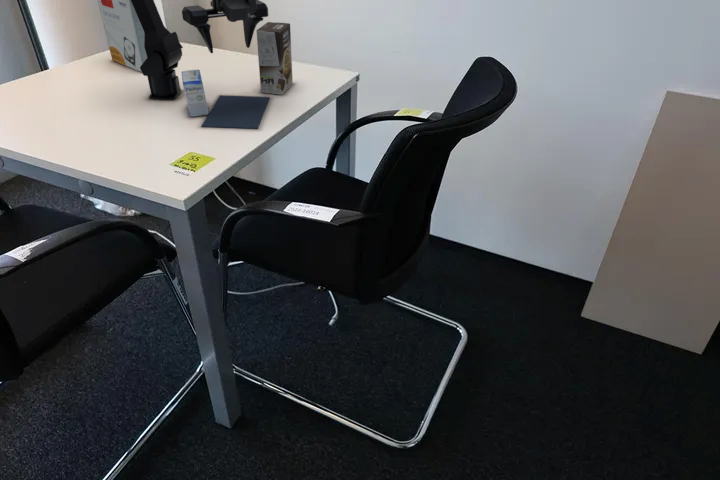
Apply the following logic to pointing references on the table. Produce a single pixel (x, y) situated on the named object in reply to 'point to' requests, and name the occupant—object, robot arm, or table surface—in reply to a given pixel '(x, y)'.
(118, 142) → the table surface
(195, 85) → the medicine box
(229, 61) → the table surface
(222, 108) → the mat
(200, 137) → the table surface
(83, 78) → the table surface
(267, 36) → the coffee box
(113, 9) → the hard drive box
